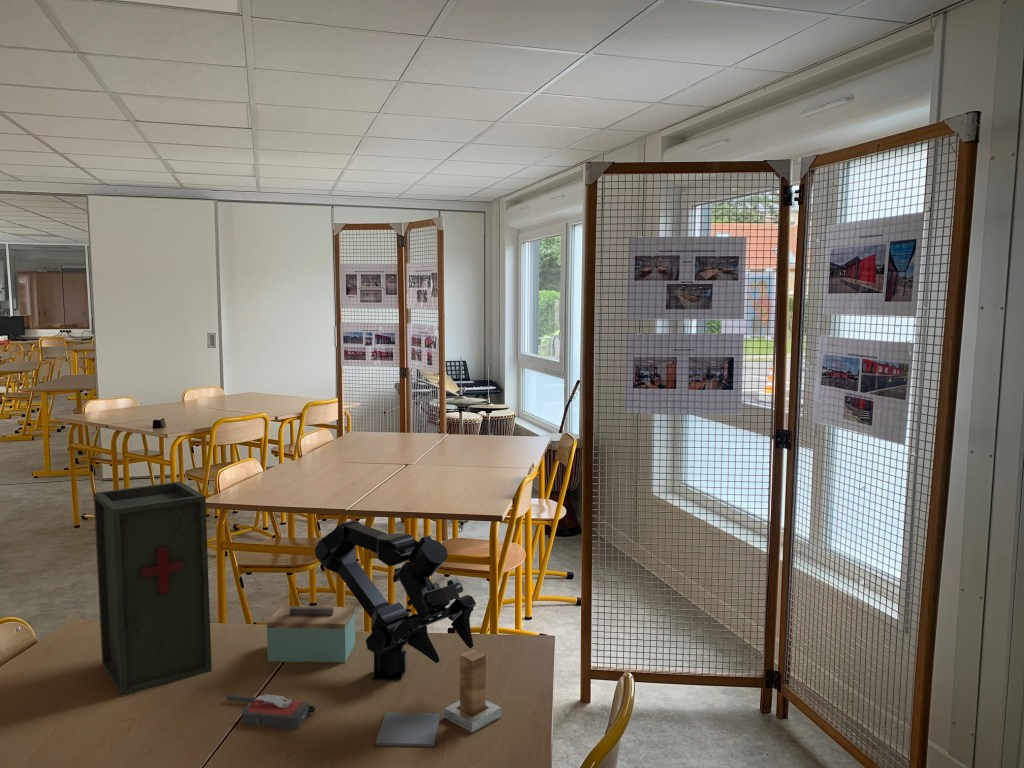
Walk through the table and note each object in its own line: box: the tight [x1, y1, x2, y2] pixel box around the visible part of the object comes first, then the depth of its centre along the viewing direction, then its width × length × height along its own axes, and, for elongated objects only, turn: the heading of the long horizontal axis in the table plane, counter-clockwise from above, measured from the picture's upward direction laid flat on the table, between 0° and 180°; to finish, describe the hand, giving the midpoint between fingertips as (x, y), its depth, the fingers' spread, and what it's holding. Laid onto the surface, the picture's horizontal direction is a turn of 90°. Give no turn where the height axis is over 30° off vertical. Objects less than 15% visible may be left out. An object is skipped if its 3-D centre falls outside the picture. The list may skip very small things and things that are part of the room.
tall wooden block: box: [459, 648, 487, 717], centre depth 154 cm, size 4×4×13 cm
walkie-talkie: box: [226, 693, 316, 730], centre depth 155 cm, size 9×4×20 cm
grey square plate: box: [374, 711, 441, 747], centre depth 150 cm, size 11×11×1 cm
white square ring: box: [443, 699, 502, 734], centre depth 154 cm, size 8×8×2 cm
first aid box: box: [93, 481, 213, 697], centre depth 173 cm, size 18×18×40 cm
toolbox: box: [266, 605, 356, 663], centre depth 183 cm, size 18×10×11 cm, turn 89°
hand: (455, 654), depth 157 cm, fingers open, 9 cm apart
